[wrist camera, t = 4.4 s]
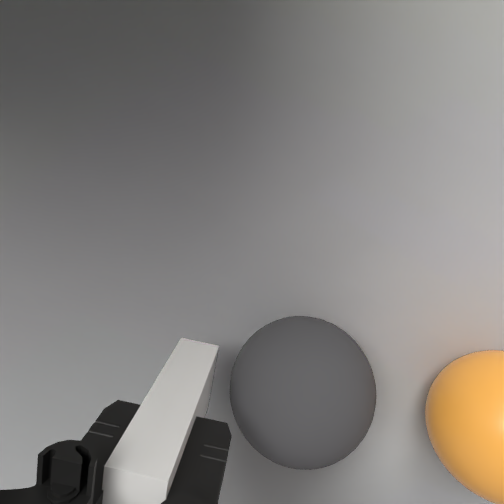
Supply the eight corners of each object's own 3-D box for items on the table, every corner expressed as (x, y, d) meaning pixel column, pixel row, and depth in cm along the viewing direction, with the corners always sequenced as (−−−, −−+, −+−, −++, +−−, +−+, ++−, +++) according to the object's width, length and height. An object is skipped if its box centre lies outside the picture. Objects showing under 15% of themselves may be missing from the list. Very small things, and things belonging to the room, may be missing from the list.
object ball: (389, 355, 18) (435, 442, 13) (513, 307, 17) (619, 379, 12) (432, 452, 19) (491, 569, 14) (551, 411, 18) (664, 521, 13)
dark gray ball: (296, 467, 11) (435, 434, 13) (249, 290, 14) (370, 290, 16) (224, 496, 15) (342, 466, 17) (199, 354, 18) (303, 346, 20)
